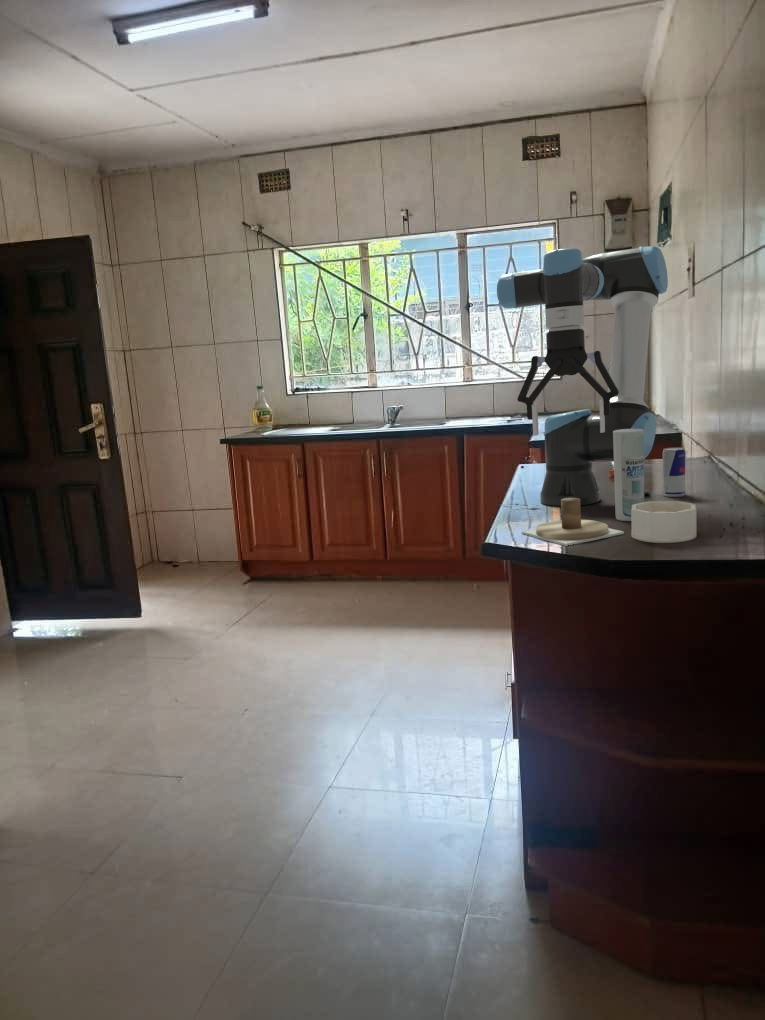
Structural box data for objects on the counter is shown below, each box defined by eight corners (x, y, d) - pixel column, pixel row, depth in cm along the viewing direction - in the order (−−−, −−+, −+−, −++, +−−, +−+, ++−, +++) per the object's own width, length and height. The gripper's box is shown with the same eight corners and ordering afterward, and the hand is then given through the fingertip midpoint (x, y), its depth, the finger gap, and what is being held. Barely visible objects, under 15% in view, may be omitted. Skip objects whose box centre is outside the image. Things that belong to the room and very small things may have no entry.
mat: (522, 533, 164) (521, 531, 163) (576, 522, 170) (576, 520, 170) (566, 546, 150) (566, 543, 150) (623, 533, 156) (623, 531, 156)
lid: (521, 531, 163) (520, 500, 162) (576, 520, 169) (575, 490, 168) (565, 543, 150) (564, 509, 149) (623, 531, 156) (623, 498, 155)
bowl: (618, 535, 155) (617, 507, 154) (663, 525, 160) (663, 498, 159) (663, 546, 144) (663, 515, 143) (710, 535, 149) (710, 506, 148)
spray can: (634, 513, 174) (632, 428, 170) (651, 518, 168) (649, 429, 164) (609, 517, 172) (607, 430, 169) (625, 522, 166) (623, 432, 163)
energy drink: (687, 496, 188) (687, 449, 186) (665, 497, 189) (664, 450, 187) (683, 493, 194) (682, 446, 191) (661, 494, 195) (660, 448, 192)
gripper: (500, 335, 153) (505, 438, 157) (628, 322, 144) (631, 432, 148) (507, 335, 160) (512, 434, 164) (630, 323, 151) (632, 428, 155)
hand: (568, 433), depth 156 cm, fingers open, 13 cm apart
